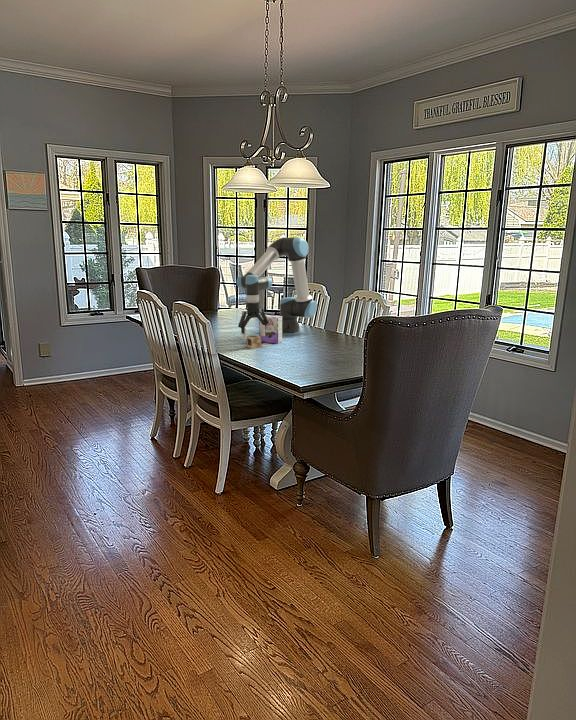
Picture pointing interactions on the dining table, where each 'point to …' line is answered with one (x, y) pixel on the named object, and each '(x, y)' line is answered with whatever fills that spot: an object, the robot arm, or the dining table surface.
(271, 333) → the candy box
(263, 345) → the grey tile
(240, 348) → the dining table surface
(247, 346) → the terracotta tile
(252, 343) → the cube
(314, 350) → the dining table surface
